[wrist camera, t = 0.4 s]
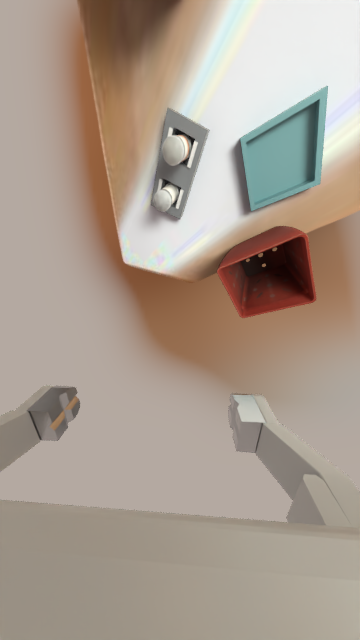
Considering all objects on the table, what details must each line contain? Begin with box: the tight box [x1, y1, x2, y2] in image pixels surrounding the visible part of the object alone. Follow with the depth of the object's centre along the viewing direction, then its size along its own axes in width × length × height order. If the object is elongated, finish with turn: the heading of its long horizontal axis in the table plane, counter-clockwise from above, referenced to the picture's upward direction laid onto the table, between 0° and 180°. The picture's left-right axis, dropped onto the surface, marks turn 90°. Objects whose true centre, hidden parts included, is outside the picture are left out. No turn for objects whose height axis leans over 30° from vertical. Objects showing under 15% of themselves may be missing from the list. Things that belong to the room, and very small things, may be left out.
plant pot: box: [217, 226, 316, 318], centre depth 48 cm, size 19×19×17 cm
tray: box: [240, 86, 328, 211], centre depth 36 cm, size 14×14×3 cm
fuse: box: [153, 182, 180, 212], centre depth 43 cm, size 4×4×10 cm
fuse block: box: [151, 108, 209, 219], centre depth 42 cm, size 18×9×3 cm, turn 160°
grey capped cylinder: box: [162, 134, 192, 166], centre depth 36 cm, size 4×4×10 cm
